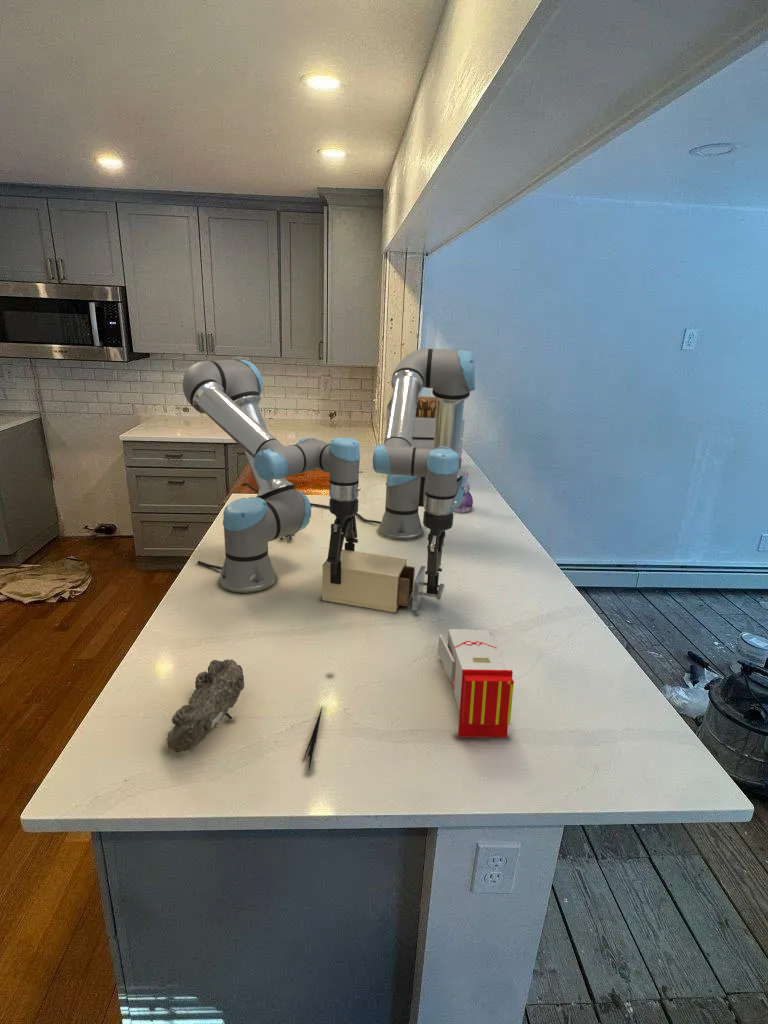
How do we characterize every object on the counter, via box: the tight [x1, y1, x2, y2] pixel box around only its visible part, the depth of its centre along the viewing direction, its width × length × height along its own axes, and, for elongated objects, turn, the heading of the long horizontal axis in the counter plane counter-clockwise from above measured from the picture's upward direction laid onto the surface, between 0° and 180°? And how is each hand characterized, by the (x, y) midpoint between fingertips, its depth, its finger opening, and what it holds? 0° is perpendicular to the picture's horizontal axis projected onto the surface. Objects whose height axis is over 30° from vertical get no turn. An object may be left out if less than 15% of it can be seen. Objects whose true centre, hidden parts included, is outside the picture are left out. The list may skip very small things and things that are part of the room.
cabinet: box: [321, 548, 408, 613], centre depth 154 cm, size 20×11×10 cm, turn 76°
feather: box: [301, 673, 332, 771], centre depth 108 cm, size 2×28×2 cm
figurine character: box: [279, 533, 296, 542], centre depth 193 cm, size 7×8×15 cm
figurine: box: [453, 472, 474, 514], centre depth 225 cm, size 9×10×15 cm
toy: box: [437, 628, 515, 738], centre depth 117 cm, size 12×13×30 cm
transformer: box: [385, 396, 465, 471], centre depth 268 cm, size 34×33×41 cm
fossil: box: [166, 658, 245, 754], centre depth 106 cm, size 22×10×15 cm
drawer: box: [397, 565, 446, 612], centre depth 152 cm, size 25×10×8 cm, turn 76°
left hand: (342, 573), depth 155 cm, fingers closed on cabinet, 11 cm apart
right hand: (431, 594), depth 150 cm, fingers closed
